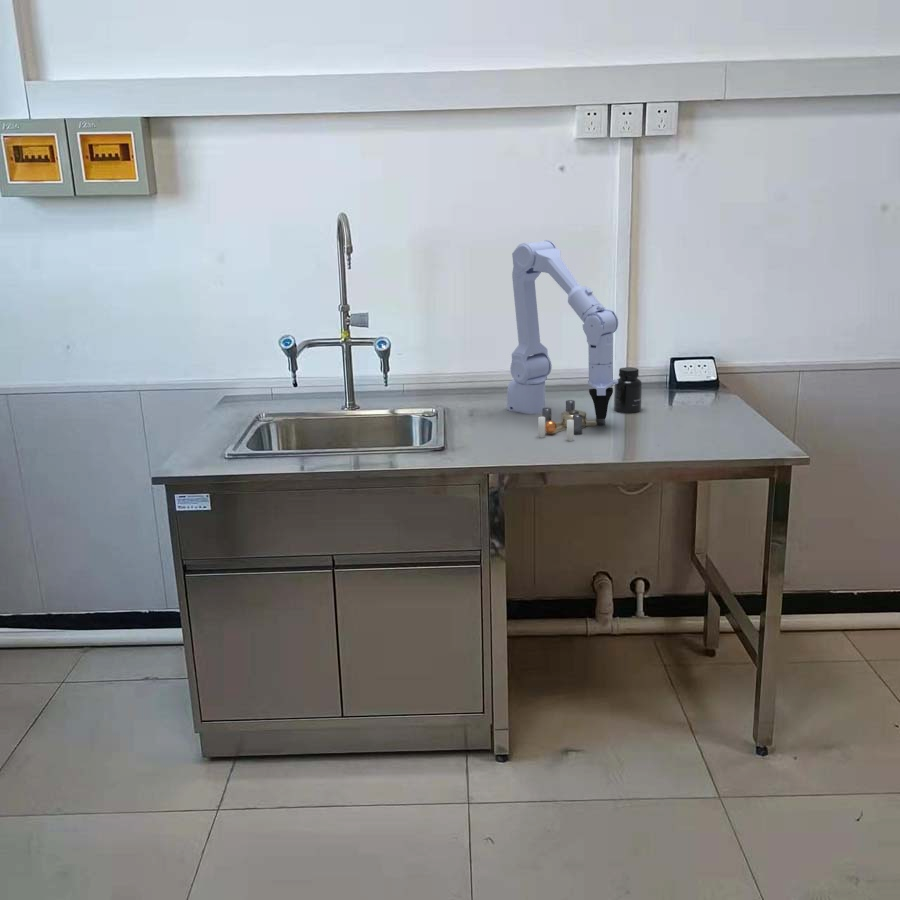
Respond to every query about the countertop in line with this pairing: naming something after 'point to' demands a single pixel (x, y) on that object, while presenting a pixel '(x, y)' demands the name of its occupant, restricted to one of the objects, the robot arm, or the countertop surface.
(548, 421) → the capstan
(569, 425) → the white rounded posts
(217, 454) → the countertop surface
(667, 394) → the countertop surface
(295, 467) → the countertop surface
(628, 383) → the supplement bottle
